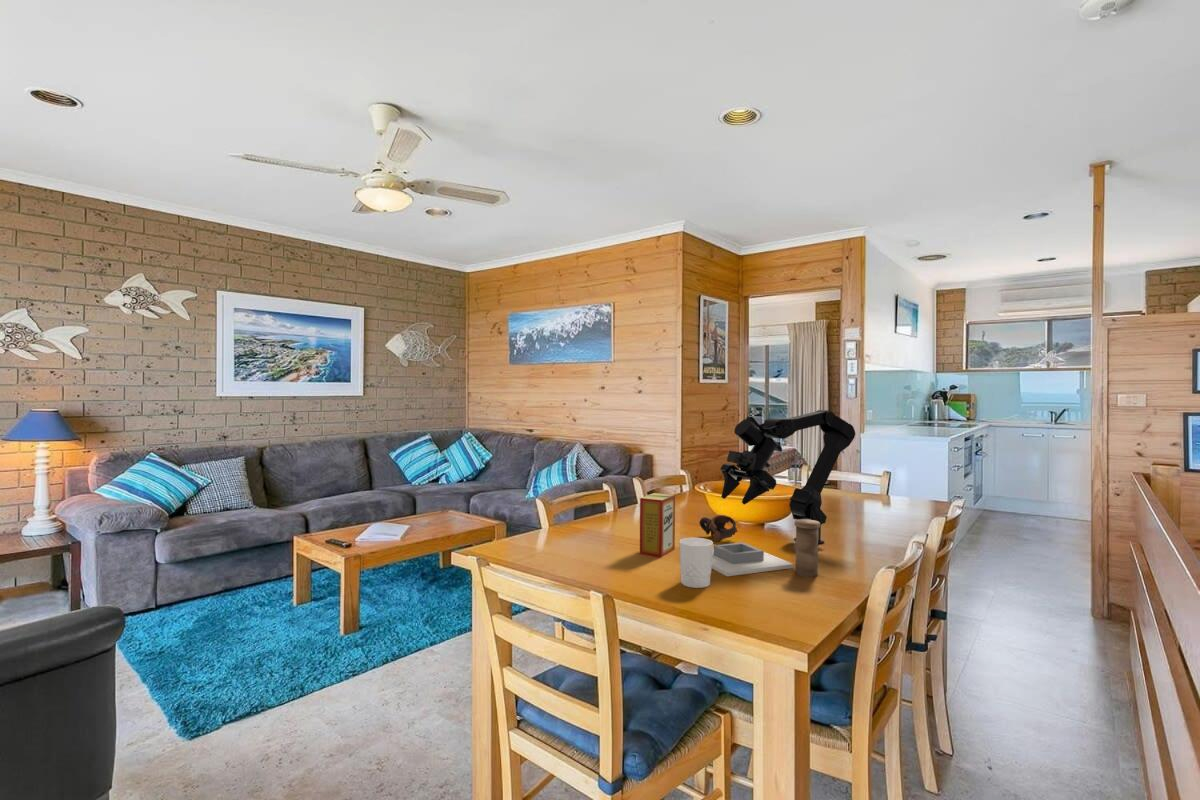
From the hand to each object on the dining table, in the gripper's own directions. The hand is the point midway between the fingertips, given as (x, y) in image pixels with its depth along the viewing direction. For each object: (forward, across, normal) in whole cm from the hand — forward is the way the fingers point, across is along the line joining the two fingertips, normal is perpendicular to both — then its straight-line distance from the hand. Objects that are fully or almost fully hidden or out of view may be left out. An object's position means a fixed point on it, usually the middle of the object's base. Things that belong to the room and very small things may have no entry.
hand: (732, 500), depth 170 cm
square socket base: (+14, +8, +6) cm, 17 cm away
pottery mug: (+8, -14, +14) cm, 21 cm away
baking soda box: (+23, -9, -6) cm, 26 cm away
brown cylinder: (+9, +24, +13) cm, 28 cm away
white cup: (+27, +19, -11) cm, 35 cm away
